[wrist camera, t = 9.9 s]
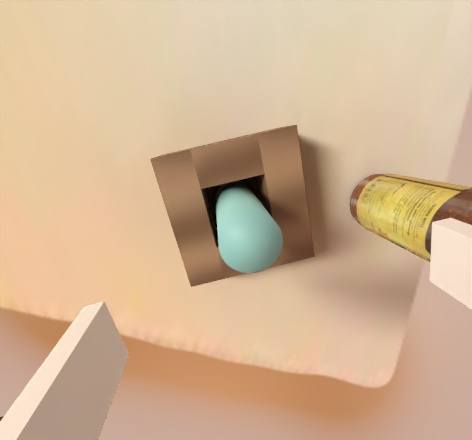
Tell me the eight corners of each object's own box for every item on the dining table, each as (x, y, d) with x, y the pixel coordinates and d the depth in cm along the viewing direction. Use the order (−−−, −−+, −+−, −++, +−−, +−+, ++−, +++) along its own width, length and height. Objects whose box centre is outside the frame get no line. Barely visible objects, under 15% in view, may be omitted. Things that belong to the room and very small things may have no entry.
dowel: (211, 185, 27) (211, 221, 15) (248, 176, 27) (277, 205, 15) (220, 221, 28) (226, 279, 16) (256, 212, 28) (287, 264, 17)
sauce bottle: (349, 231, 30) (591, 395, 11) (344, 179, 28) (629, 266, 9) (403, 218, 30) (737, 355, 11) (402, 164, 28) (807, 220, 9)
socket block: (161, 155, 25) (150, 159, 20) (280, 127, 25) (296, 124, 21) (194, 262, 29) (191, 286, 24) (297, 237, 29) (314, 256, 24)
